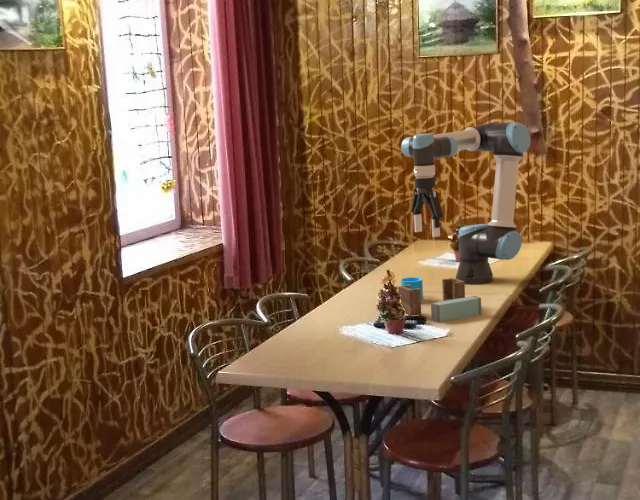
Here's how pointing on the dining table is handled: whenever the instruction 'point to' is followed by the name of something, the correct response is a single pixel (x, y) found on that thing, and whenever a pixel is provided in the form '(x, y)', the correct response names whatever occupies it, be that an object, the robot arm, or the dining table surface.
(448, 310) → the rail
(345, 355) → the dining table surface
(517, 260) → the dining table surface
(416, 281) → the mug
